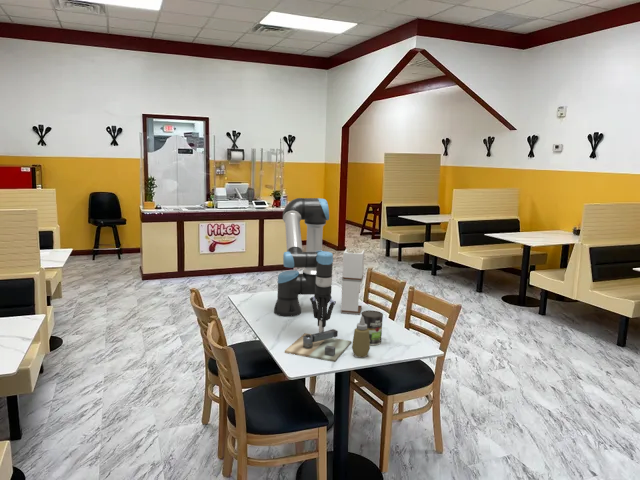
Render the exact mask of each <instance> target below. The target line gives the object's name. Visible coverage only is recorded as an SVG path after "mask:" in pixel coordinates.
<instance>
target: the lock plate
mask: <svg viewBox="0 0 640 480" xmlns="http://www.w3.org/2000/svg"><path fill="white" fill-rule="evenodd" d="M305 335H306V337H310V335H312V334H311V333H308V332H307V333H306V332H305V333H303V334H301V336H300V337H298V338H297V339H296V340H295V341H294V342H293V343H292V344H291V345H289V346H288V347H287V348H285V350H284V354H289V353H291V354H290V355H294V354H295V355H294V356H301V357H304V358H305V357H306V358H310V359H317V360H321V361H322V360H323V361H327V362H332V363H335V362H337V361H338V360H339V358H340V357H341V356H342V354H343V353H344V352H345V351H346V350H347V349H348V348H349V346H350V345H352V340H348V339H344V338H343V339H341V338H338V337H333V338H329V339H325V340H321V341H317V342H313V347H312V348H304V347H303V336H305Z"/></svg>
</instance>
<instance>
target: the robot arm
mask: <svg viewBox="0 0 640 480" xmlns="http://www.w3.org/2000/svg"><path fill="white" fill-rule="evenodd" d="M329 220H330V208H329V204H328V201H327V200H326V199H325V198H320V197H314V198H312V197H308V198H307V197H305V198H304V197H303V198H302V197H298V198H294V199H292V200H291V201H289V202H288V203H287V204H286V206H285V207H284V209H283V212H282V221H283V222H284V226H285V238H286V239H285V241H286V251H284V252H283V255H282V256H283V257H282V261H283V267H285V268H289V269H292V270H285V271H282V272H280V273H278V276H277V283H276V284H277V299H276V302H275V305H274V308H273V313H274V314H275V315H277V316H279V317H280V316H281V317H296V316H299V315H301V313H302V308H301V304H300V300H299V295H300V296H302V295H304V296H305V295H310V296H311V295H314V296H312V297H309V300H310V302H311V306H312V312H313V313H312V314H313V318H314V319H316V320H317V327H318V333H320V332H324V331H325V328H326V327H327V326H326V325H327V321H329V320H330V319H331V316H332V313H333V309H334V307H335V305H336V303H337V301H336V300H334V299H333V297H332V284H333V264H334V263H333V262H334V254H333V253H332V252H330V251H324V250H323V234H324V233H323V232H324V230H323V229H324V226H325V225H326V224H327V221H329ZM301 221H304V224H305V225H306V247H305V248H306V251H303V242H302V234H301V233H302V231H301ZM296 268H297V269H298V268H304V269H303V270H302V273H300V272H299V270H293V269H296Z"/></svg>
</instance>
